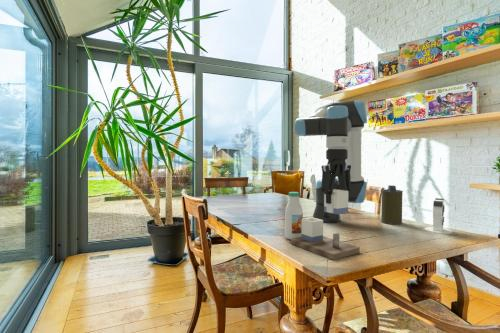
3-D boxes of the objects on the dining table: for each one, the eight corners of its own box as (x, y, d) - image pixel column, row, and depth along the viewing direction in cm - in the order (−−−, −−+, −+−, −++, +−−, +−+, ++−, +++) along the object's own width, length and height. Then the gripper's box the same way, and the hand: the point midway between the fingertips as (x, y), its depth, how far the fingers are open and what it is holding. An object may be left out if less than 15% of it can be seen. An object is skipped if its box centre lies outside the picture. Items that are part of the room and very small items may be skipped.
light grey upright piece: (452, 235, 128) (452, 202, 127) (422, 231, 135) (423, 200, 134) (452, 229, 137) (453, 199, 137) (425, 226, 144) (425, 197, 144)
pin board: (290, 243, 115) (290, 226, 115) (315, 238, 123) (315, 222, 123) (333, 260, 97) (334, 239, 97) (359, 252, 104) (359, 233, 104)
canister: (405, 225, 147) (405, 186, 146) (383, 224, 149) (384, 186, 148) (398, 220, 158) (399, 184, 157) (378, 219, 160) (379, 184, 159)
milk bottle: (284, 239, 121) (284, 193, 120) (285, 235, 128) (285, 191, 128) (303, 240, 120) (303, 193, 119) (302, 235, 127) (302, 191, 127)
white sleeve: (337, 214, 100) (337, 191, 100) (324, 211, 105) (324, 190, 105) (348, 212, 104) (348, 190, 103) (334, 210, 109) (335, 189, 108)
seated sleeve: (301, 238, 116) (301, 219, 115) (312, 236, 119) (312, 217, 119) (312, 242, 111) (312, 221, 110) (322, 239, 114) (323, 220, 114)
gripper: (327, 147, 96) (326, 216, 96) (361, 149, 106) (361, 210, 107) (310, 148, 102) (310, 212, 102) (345, 149, 112) (344, 207, 113)
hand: (336, 211), depth 104 cm, fingers closed on white sleeve, 6 cm apart
